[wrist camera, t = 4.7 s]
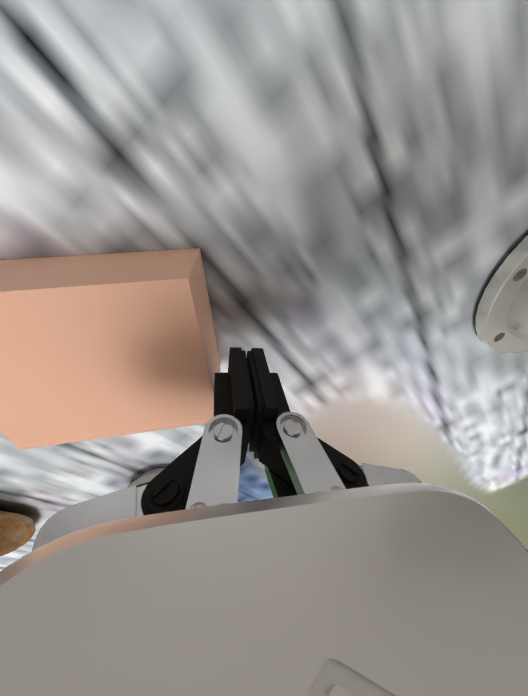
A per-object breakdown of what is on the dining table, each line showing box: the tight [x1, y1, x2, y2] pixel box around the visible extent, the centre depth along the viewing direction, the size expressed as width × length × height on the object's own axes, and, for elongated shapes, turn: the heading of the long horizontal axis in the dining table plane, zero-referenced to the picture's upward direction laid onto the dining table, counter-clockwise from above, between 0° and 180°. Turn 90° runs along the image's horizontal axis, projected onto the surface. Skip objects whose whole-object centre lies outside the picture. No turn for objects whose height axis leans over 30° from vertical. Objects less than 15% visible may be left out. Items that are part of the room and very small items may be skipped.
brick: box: [0, 248, 220, 450], centre depth 12 cm, size 10×8×6 cm
